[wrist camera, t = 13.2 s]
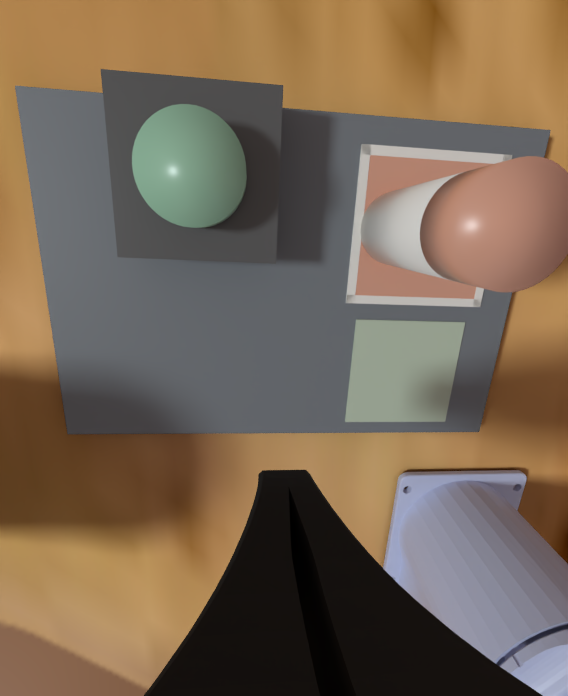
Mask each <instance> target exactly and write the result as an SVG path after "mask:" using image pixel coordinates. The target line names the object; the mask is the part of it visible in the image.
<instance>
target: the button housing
mask: <svg viewBox="0 0 568 696" xmlns="http://www.w3.org/2000/svg"><path fill="white" fill-rule="evenodd" d="M101 77H102V88H103V99H104V111H105V122H106V133H107V144H108V156H109V167H110V178H111V189H112V201H113V212H114V223H115V234H116V246H117V257H122V258H146V259H171V260H196V261H220V262H245V263H270V264H276V254H277V229H278V203H279V178H280V153H281V127H282V102H283V85H273V84H262V83H251V82H239V81H228V80H217V79H206V78H194V77H183V76H172V75H161V74H150V73H138V72H127V71H116V70H105V69H101ZM177 104H191V105H197V106H200V107H203V108H206V109H208V110H210V111H212V112H213V113H215V114H217V115H218V116H219V117H220V118H222V119H223V120H224V121H225V122H226V123H227V124H228V125H229V126H230V127H231V129H232V130H233V131H234V133H235V134H236V136H237V138H238V140H239V142H240V144H241V146H242V149H243V152H244V156H245V162H246V175H247V180H246V188H245V193H244V196H243V199H242V201H241V203H240V205H239V206H238V208H237V209H236V211H235V212H234V213H233V214H232V215H231V216H230V217H229V218H227V219H226V220H224V221H223V222H221V223H219V224H217V225H214V226H211V227H205V228H191V227H183V226H179V225H176V224H174V223H171V222H169V221H167V220H165V219H164V218H162V217H161V216H159V215H158V214H157V213H156V212H155V211H154V210H152V209H151V207H150V206H149V205H148V204H147V203H146V201H145V200H144V198H143V197H142V195H141V193H140V191H139V190H138V187H137V185H136V182H135V179H134V175H133V169H132V152H133V146H134V142H135V139H136V137H137V134H138V132H139V130H140V129H141V127H142V126H143V124H144V123H145V122H146V120H147V119H149V118H150V117H151V116H152V115H153V114H154V113H156V112H157V111H159V110H161V109H163V108H165V107H168V106H171V105H177Z"/></svg>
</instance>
